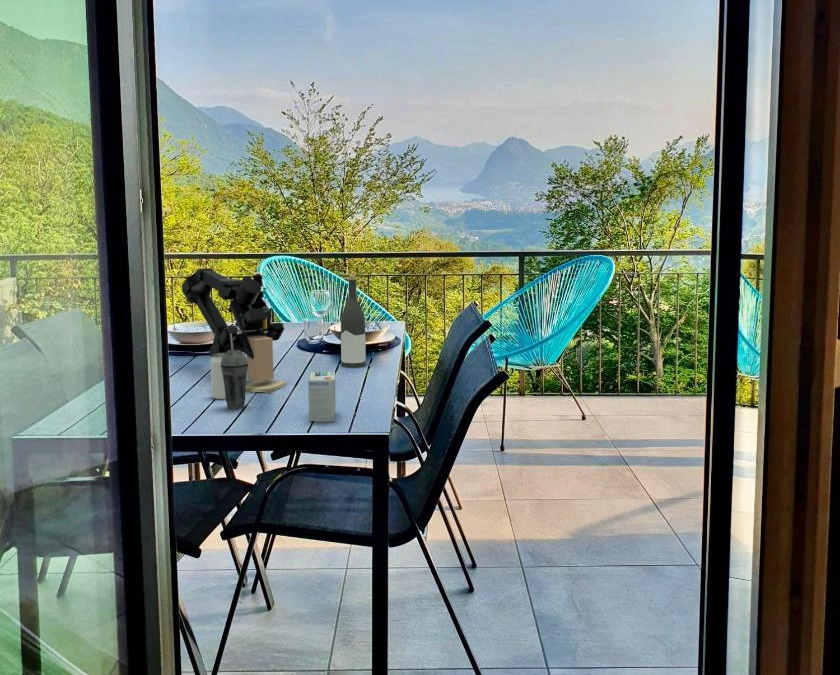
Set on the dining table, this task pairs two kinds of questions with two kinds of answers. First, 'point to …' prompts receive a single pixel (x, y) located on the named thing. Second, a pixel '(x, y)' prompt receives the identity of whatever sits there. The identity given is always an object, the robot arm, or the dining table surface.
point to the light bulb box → (321, 396)
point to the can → (217, 377)
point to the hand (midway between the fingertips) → (262, 357)
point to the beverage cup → (234, 377)
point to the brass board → (264, 386)
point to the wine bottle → (353, 330)
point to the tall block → (260, 358)
